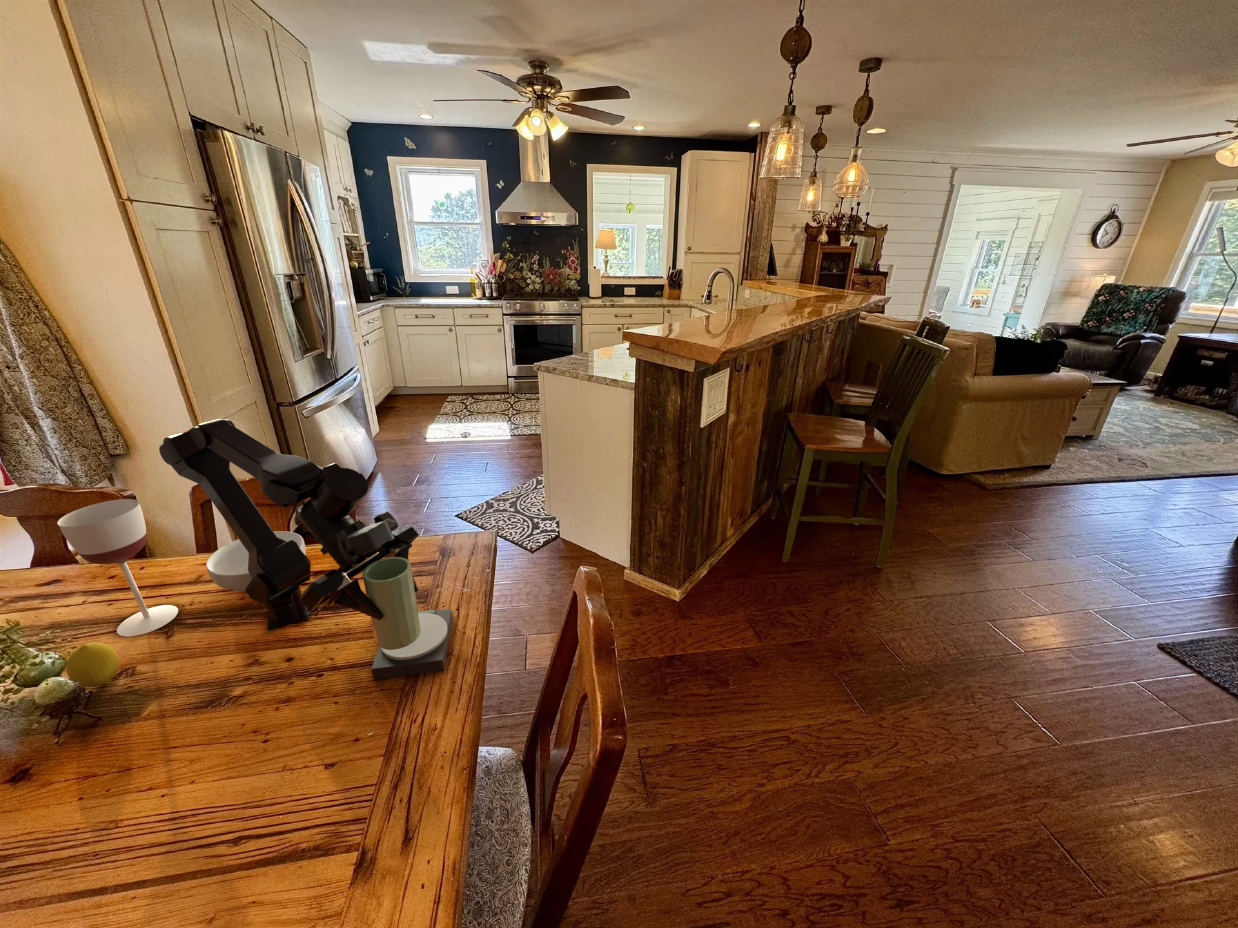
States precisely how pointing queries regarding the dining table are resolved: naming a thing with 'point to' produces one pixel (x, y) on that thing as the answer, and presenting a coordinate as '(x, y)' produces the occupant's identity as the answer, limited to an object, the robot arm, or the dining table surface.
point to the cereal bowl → (239, 562)
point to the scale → (418, 649)
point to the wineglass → (116, 552)
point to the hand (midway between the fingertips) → (399, 604)
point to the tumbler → (393, 602)
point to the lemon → (93, 664)
